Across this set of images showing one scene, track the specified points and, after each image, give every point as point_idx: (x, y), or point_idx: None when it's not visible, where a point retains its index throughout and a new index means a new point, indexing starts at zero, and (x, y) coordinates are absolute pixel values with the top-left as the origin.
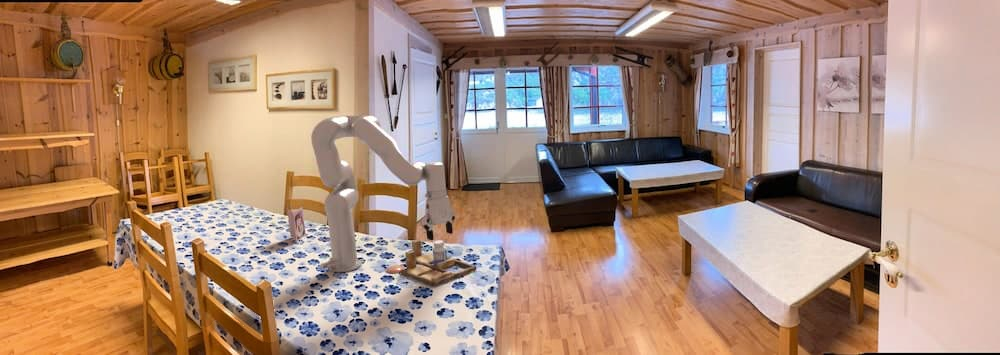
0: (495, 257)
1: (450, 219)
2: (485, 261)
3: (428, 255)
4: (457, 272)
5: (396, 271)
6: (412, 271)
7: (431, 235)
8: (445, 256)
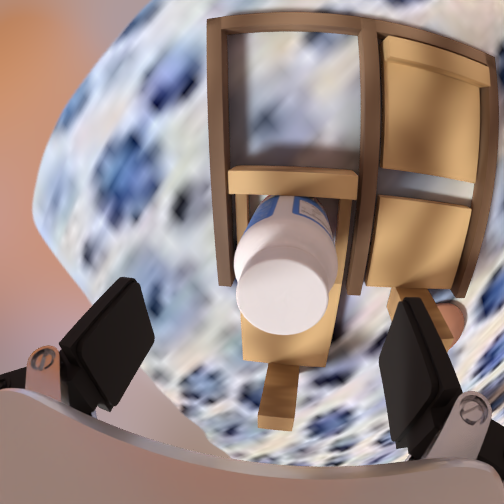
0: (68, 107)
1: (18, 397)
2: (113, 91)
3: (257, 339)
4: (342, 26)
5: (455, 312)
6: (447, 255)
7: (433, 342)
8: (277, 202)
